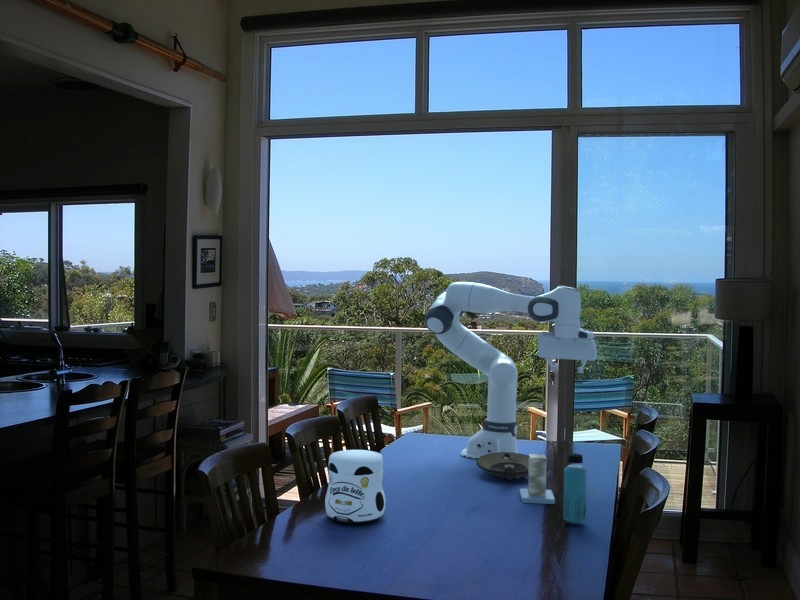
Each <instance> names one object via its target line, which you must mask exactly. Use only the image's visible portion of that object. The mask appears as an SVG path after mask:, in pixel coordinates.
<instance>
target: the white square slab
mask: <svg viewBox="0 0 800 600" xmlns="http://www.w3.org/2000/svg"><path fill="white" fill-rule="evenodd" d="M519 496H520V500H521V503H522V504H540V505H541V504H544V505H545V504H547V505H555V504H556V499H555V496H554V494H553V491H552V489H546V497H545V496H529V492H528V488H519Z"/></svg>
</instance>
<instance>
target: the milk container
mask: <svg viewBox="0 0 800 600" xmlns="http://www.w3.org/2000/svg"><path fill="white" fill-rule="evenodd" d="M383 460H384V458H383V455H382V453H379V452H377V451H372V450H368V449H367V450H366V449H344V450H339V451H335V452H332V453H331V454H330V455H329V457H328V486H327V489H326V490H327V491H326V494H325V499H324V507H325V512H326V514H327V516H328V517H329V518H330V519H332V520H333V521H335V522H339V523H344V524H350V525H352V524H354V525H355V524H356V525H357V524H359V525H360V524H366V523H367V524H368V523H371V522H375V521H376V520H379V519H380V518H382V516H383V515H384V512H385V510H386V501H387V500H386V495H385V492H384V484H383V482H384V480H383V478H384V468H383V467H384V463H383V462H384V461H383Z"/></svg>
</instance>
